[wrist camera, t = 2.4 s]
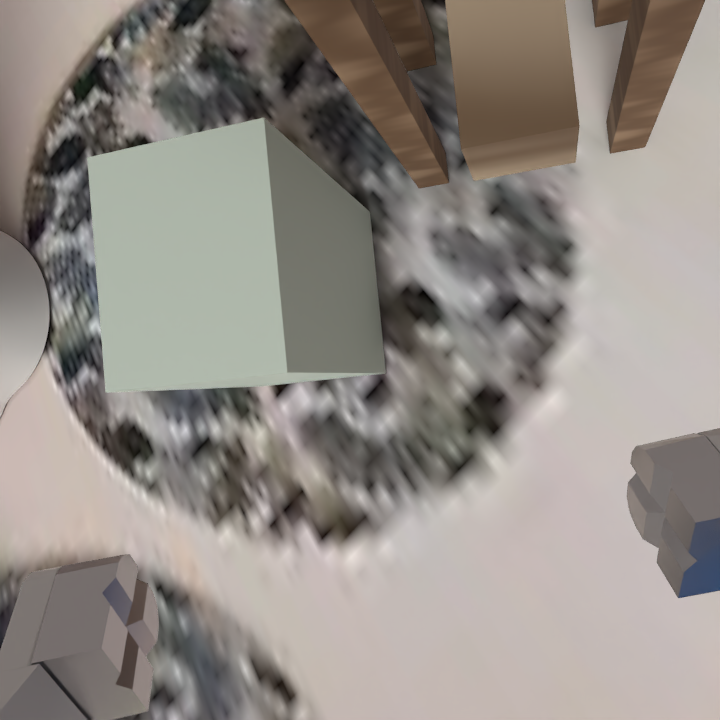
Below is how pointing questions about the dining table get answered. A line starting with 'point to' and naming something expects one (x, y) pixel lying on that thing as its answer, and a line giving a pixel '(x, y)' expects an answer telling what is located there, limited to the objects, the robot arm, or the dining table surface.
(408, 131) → the plant stand
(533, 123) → the mallet
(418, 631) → the dining table surface
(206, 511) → the dining table surface
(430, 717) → the dining table surface
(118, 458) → the dining table surface
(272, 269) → the pale green block
